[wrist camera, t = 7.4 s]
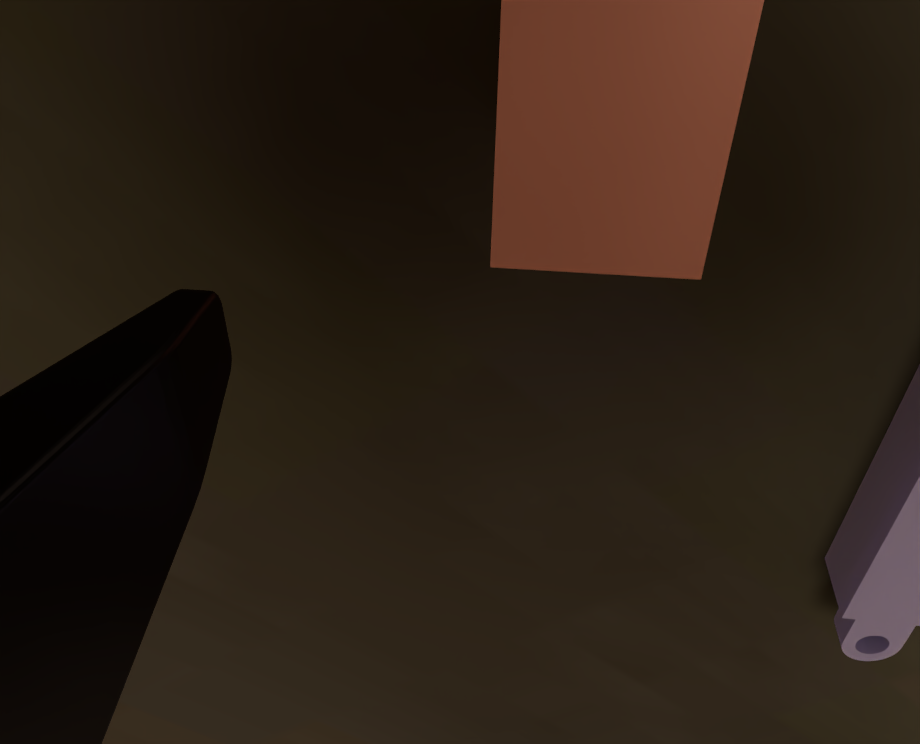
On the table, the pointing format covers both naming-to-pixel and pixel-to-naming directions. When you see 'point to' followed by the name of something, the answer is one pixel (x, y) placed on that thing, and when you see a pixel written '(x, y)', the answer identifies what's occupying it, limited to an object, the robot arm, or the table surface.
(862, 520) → the computer part
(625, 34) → the block
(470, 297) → the table surface
